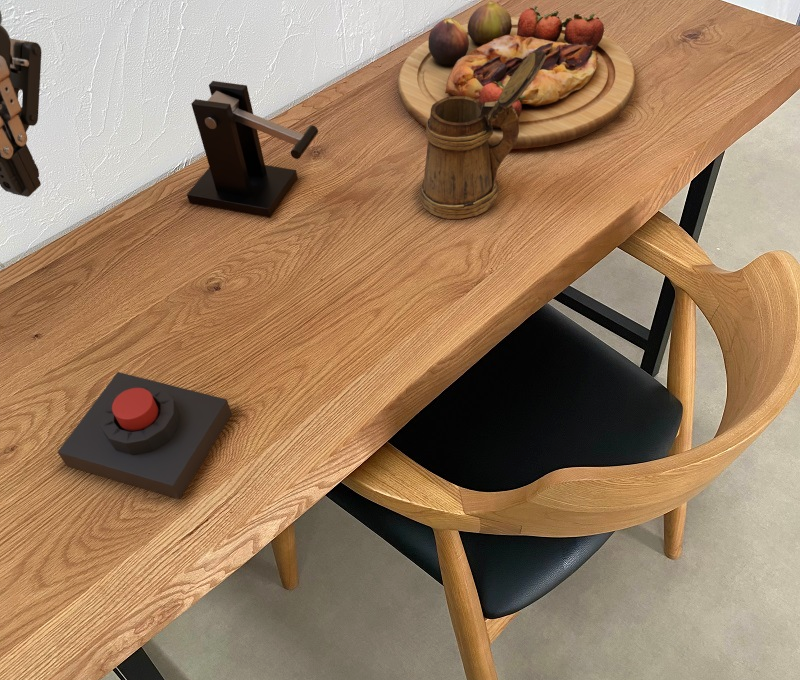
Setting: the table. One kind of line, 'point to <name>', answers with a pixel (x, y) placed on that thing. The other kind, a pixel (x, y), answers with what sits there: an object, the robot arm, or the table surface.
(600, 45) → the wooden plate
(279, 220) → the table surface
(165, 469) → the button box
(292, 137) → the lever
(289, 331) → the table surface
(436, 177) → the wooden mug
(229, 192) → the bracket
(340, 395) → the table surface
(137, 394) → the button
